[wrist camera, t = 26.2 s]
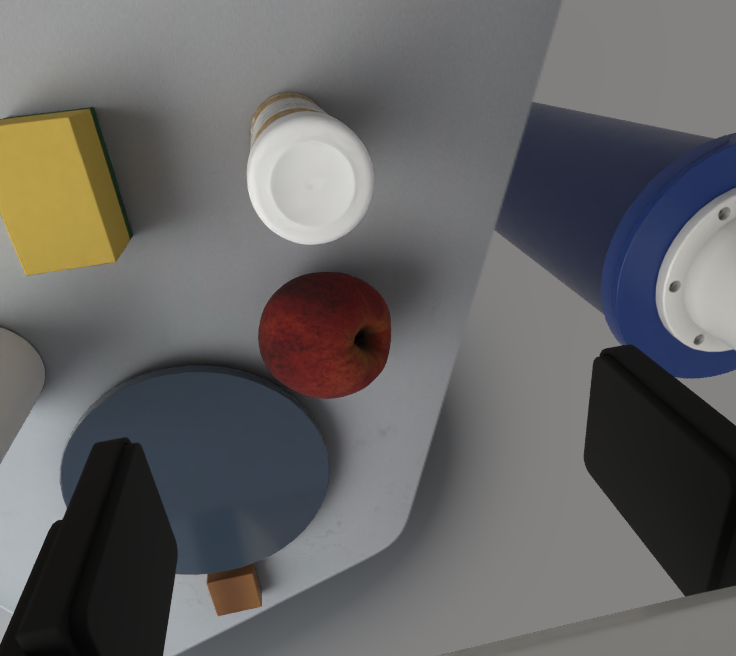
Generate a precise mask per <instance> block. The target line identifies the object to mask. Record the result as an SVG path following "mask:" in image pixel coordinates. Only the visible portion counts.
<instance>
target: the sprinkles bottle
mask: <svg viewBox="0 0 736 656" xmlns="http://www.w3.org/2000/svg"><path fill="white" fill-rule="evenodd" d="M250 141H251V151H250V155H249V158H248V165H247V185H248V191H249V195H250V199H251V202H252V204H253V207H254V209H255V211H256V213H257V214H258V216H259V217H260V219H261V220H262V221H263V222H264V224H265V225H266V226H267V227H268V228H269V229H271V230H272V231H273V232H275V233H276V234H277V235H279V236H281V237H283V238H285V239H287V240H289V241H292V242H295V243H300V244H309V245H315V244H323V243H328V242H331V241H334V240H337V239H339V238H341V237H342V236H344V235H346V234H347V233H348V232H350V231H351V230H352V229H353V228H355V227H356V226H357V225H358V223H359V222H360V221H361V220H362V219H363V217H364V215H365V214H366V212H367V210H368V208H369V206H370V203H371V201H372V197H373V192H374V183H375V179H374V169H373V165H372V161H371V158H370V155H369V153H368V151H367V149H366V147H365V146H364V144H363V143H362V141H361V140H360V139H359V138H358V136H357V135H356V134H355V133H354V132H353V131H352V130H351V129H350V128H348V127H347V126H346V125H345V124H344V123H342V122H341V121H339V120H337V119H336V118H334V117H332V116H330V115H328V114H327V113H326V112H325V111H323V110H322V109H321V108H320V107H319V106H318V105H317V104H316V103H315V102H314V101H312V100H311V99H309V98H307V97H305V96H304V95H301V94H296V93H279V94H277V95H274V96H272V97H269V98H268V99H267V100H266V101H265V102H263V103H262V104H261V105H260V106H259V108H258V109H257V110H256V112H255V114H254V116H253V119H252V121H251V127H250Z"/></svg>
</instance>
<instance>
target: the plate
mask: <svg viewBox="0 0 736 656" xmlns="http://www.w3.org/2000/svg"><path fill="white" fill-rule="evenodd" d="M123 437H127V438H129V440H130V441H131V443H137V442H138V443H140V444H141V446H142V448H143V451H144V453H145V456H146V459H147V462H148V464H149V467H150V470H151V473H152V475H153V478H154V481H155V484H156V487H157V489H158V492H159V495H160V498H161V500H162V503H163V506H164V509H165V511H166V514H167V517H168V520H169V522H170V525H171V528H172V531H173V534H174V536H175V539H176V543H177V550H178V559H177V566H176V573H175V574H191V575H198V574H211V573H218V572H224V571H229V570H233V569H237V568H241V567H244V566H247V565H250V564H253V563H255V562H258V561H260V560H262V559H264V558H266V557H269V556H271V555H272V554H274V553H276V552H277V551H279V550H281V549H282V548H284V547H285V546H286V545H288V544H289V543H290V542H292V541H293V540H294V539H295V538H297V537H298V536H299V535H300V534H301V533H302V532H303V531H304V530H305V529H306V527H307V526H308V525H309V524H310V522H311V521H312V520H313V519H314V517H315V515H316V514H317V512H318V510H319V509H320V507H321V504H322V502H323V500H324V497H325V495H326V491H327V486H328V481H329V460H328V453H327V448H326V444H325V441H324V437H323V435H322V433H321V430H320V428H319V426H318V424H317V423H316V421H315V420H314V418H313V417H312V415H311V414H310V413H309V411H308V410H307V409H306V408H305V407H304V406H303V405H302V403H300V402H299V401H298V400H297V399H296V398H295V397H293V396H292V395H291V394H290V393H289V392H287V391H285V390H284V389H282V388H281V387H279V386H278V385H276V384H274V383H272V382H270V381H268V380H266V379H264V378H262V377H259V376H257V375H254V374H251V373H248V372H245V371H241V370H236V369H232V368H227V367H219V366H210V365H187V366H178V367H169V368H165V369H161V370H156V371H152V372H149V373H146V374H143V375H140V376H137V377H135V378H132V379H130V380H128V381H126V382H124V383H122V384H120V385H118V386H116V387H115V388H113V389H112V390H110V391H109V392H107V393H106V394H104V395H103V396H102V397H100V398H99V399H98V400H97V401H96V402H95V403H94V404H93V405H92V406H90V407H89V409H88V410H87V411H86V412H85V413H84V415H83V416H82V417H81V418H80V419H79V421H78V423H77V424H76V426H75V428H74V429H73V431H72V433H71V435H70V437H69V439H68V441H67V444H66V447H65V449H64V452H63V455H62V460H61V466H60V485H61V490H62V496H63V499H64V501H65V504H66V507H67V508H68V505H69V503H70V500H71V498H72V496H73V493H74V491H75V488H76V486H77V483H78V481H79V478H80V476H81V473H82V471H83V469H84V466H85V464H86V461H87V459H88V456H89V454H90V451H91V449H92V447H93V445H94V444H95V443H96V442H101V441H106V440H112V439H117V438H123Z"/></svg>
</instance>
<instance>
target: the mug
mask: <svg viewBox="0 0 736 656" xmlns="http://www.w3.org/2000/svg"><path fill="white" fill-rule="evenodd" d="M44 382H45V369H44V365H43V362H42V360H41V358H40V356H39V354H38V353H37V351H36V350H35V349H34V348H33V347H32V346H31V345H30V344H29V343H28V342H27V341H26V340H25V339H23V338H22V337H20V336H19V335H17V334H15V333H13V332H11V331H9V330H6V329H4V328H1V327H0V464H1V462H2V460H3V458H4V457H5V455H6V453H7V451H8V450H9V448H10V446H11V444H12V442H13V441H14V439H15V437H16V436H17V434H18V432H19V430H20V429H21V427H22V425H23V423H24V422H25V420H26V418H27V417H28V415H29V413H30V411H31V410H32V408H33V406H34V404H35V402H36V400H37V398H38V396H39V395H40V393H41V391H42V388H43V386H44Z"/></svg>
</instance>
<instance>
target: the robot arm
mask: <svg viewBox="0 0 736 656" xmlns="http://www.w3.org/2000/svg"><path fill="white" fill-rule="evenodd" d="M656 306H657V310H658V315H659V317H660V319H661V321H662V323H663V325H664V327H665V328H666V329H667V330H668V331H669V333H670V334H671V335H672V336H674V337H675V338H676V339H678V340H679V341H681V342H682V343H683V344H685V345H687V346H689V347H691V348H693V349H696V350H701V351H706V352H722V351H727V350H733V349H734V350H735V351H736V188H734V189H731V190H729V191H727V192H726V193H724V194H722V195H720V196H718V197H716V198H715V199H713V200H712V201H711V202H709V203H708V204H707V205H705V206H704V207H703V208H701V209H700V210H699V211H698V212H697V213H696V214H695V215H694V216H693V217H692V218H691V219H690V220H689V221H688V222H687V223H686V224H685V225H684V227H683V228H682V229H681V231H680V232H679V233H678V235H677V236H676V237H675V239H674V240H673V242H672V244H671V246H670V247H669V249H668V251H667V253H666V255H665V257H664V260H663V262H662V265H661V267H660V270H659V274H658V279H657V284H656ZM584 462H585V465H586V468H587V470H588V472H589V473H590V475H591V476H592V477H593V479H594V480H595V481H596V482H597V484H598V485H599V487H600V488H601V489H602V490H603V491H604V493H605V494H606V495H607V497H608V498H609V499H610V501H611V502H612V503H613V504H614V506H615V507H616V508H617V510H618V511H619V512H620V513H621V515H622V516H623V517H624V519H625V520H626V521H627V522H628V524H629V525H630V526H631V528H632V529H633V530H634V531H635V533H636V534H637V535H638V536H639V538H640V539H641V540H642V542H643V543H644V544H645V545H646V547H647V548H648V549H649V551H650V552H651V553H652V554H653V556H654V557H655V558H656V560H657V561H658V562H659V563H660V565H661V566H662V567H663V569H664V570H665V571H666V572H667V574H668V575H669V576H670V577H671V579H672V580H673V581H674V583H675V584H676V585H677V586H678V588H679V589H680V590H681V592H682V593H683V594H684V595H685V597H683V598H679V599H674V600H670V601H665V602H661V603H657V604H652V605H648V606H644V607H640V608H636V609H631V610H627V611H623V612H618V613H614V614H610V615H605V616H601V617H597V618H593V619H589V620H584V621H580V622H576V623H571V624H567V625H563V626H559V627H555V628H550V629H546V630H542V631H538V632H534V633H530V634H525V635H521V636H518V637H513V638H509V639H505V640H501V641H497V642H492V643H488V644H484V645H480V646H476V647H472V648H467V649H463V650H459V651H455V652H451V653H447V654H442V655H438V656H736V426H735V425H734V424H733V423H732V422H730V421H729V420H728V419H727V418H725V417H724V416H723V415H721V414H720V413H719V412H717V410H715V409H714V408H713V407H711V406H710V405H709V404H708V403H706V402H705V401H704V400H703V399H701V398H700V397H699V396H697V395H696V394H695V393H694V392H692V391H691V390H690V389H689V388H687V387H686V386H685V385H683V384H682V383H681V382H680V381H678V380H677V379H676V378H675V377H674V376H672V375H671V374H670V373H668V372H667V371H666V370H665V369H663V368H662V367H661V366H660V365H658V364H657V363H656V362H655V361H653V360H652V359H651V358H649V357H648V356H647V355H646V354H644V353H643V352H642V351H641V350H639V349H638V348H637V347H635V346H634V345H631V344H628V345H622V346H617V347H612V348H606V349H604V350H602V352H601V353H600V357H597V358H596V359H595V360H594V362H593V370H592V379H591V389H590V399H589V409H588V419H587V429H586V438H585V449H584ZM177 559H178V550H177V543H176V539H175V536H174V534H173V531H172V528H171V525H170V522H169V520H168V517H167V514H166V511H165V509H164V506H163V503H162V500H161V498H160V495H159V492H158V489H157V487H156V484H155V481H154V478H153V475H152V473H151V470H150V467H149V464H148V462H147V459H146V456H145V453H144V451H143V448H142V446H141V444H140V443H138V442H137V443H131V441H130V440H129V438H127V437H123V438H117V439H112V440H106V441H101V442H96V443H95V444H94V445H93V447H92V449H91V451H90V454H89V456H88V459H87V461H86V464H85V466H84V469H83V471H82V473H81V476H80V478H79V481H78V483H77V486H76V488H75V491H74V493H73V496H72V498H71V500H70V503H69V505H68V508H67V510H66V513H65V515H64V518H63V519H62V520H58V521H56V522H55V523H54V524H53V525H52V526H51V528H50V530H49V532H48V534H47V536H46V539H45V541H44V543H43V546H42V548H41V550H40V553H39V555H38V557H37V560H36V562H35V564H34V567H33V569H32V571H31V574H30V576H29V578H28V581H27V583H26V585H25V588H24V590H23V592H22V595H21V597H20V599H19V602H18V604H17V606H16V609H15V611H14V614H13V616H12V618H11V621H10V623H9V625H8V628H7V631H6V632H5V635H4V637H3V639H2V642H1V644H0V656H163V652H164V645H165V639H166V632H167V625H168V619H169V612H170V606H171V599H172V593H173V586H174V579H175V573H176V566H177Z"/></svg>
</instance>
